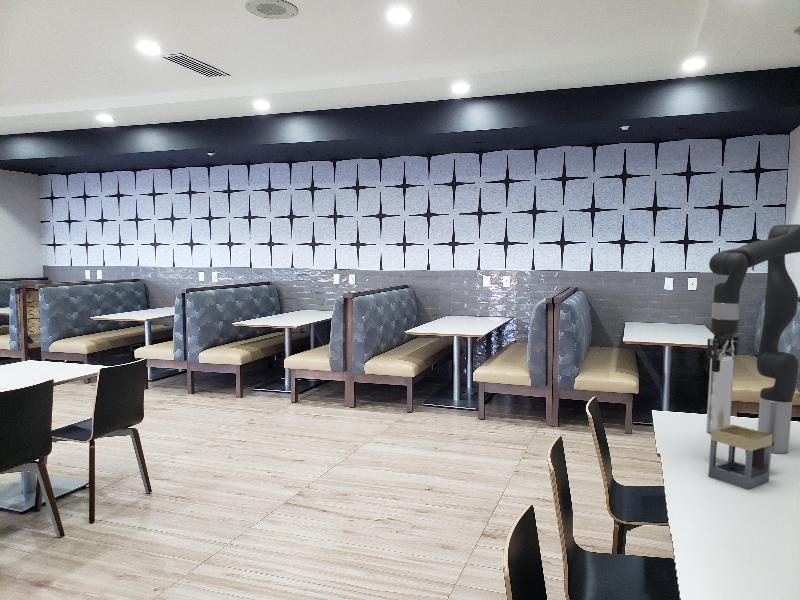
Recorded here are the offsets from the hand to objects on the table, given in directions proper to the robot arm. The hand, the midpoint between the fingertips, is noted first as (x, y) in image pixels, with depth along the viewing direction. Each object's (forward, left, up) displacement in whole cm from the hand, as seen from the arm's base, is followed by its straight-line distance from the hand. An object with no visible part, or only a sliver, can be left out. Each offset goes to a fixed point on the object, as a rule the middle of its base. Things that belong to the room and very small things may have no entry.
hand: (721, 370), depth 191 cm
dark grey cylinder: (-3, +11, -29) cm, 31 cm away
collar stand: (+9, +12, -29) cm, 33 cm away
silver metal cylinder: (0, 0, -20) cm, 20 cm away
